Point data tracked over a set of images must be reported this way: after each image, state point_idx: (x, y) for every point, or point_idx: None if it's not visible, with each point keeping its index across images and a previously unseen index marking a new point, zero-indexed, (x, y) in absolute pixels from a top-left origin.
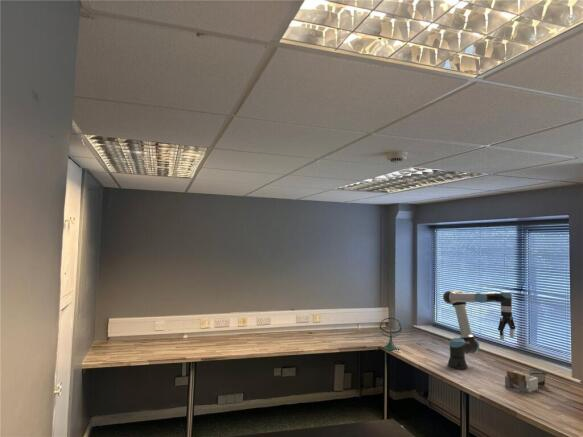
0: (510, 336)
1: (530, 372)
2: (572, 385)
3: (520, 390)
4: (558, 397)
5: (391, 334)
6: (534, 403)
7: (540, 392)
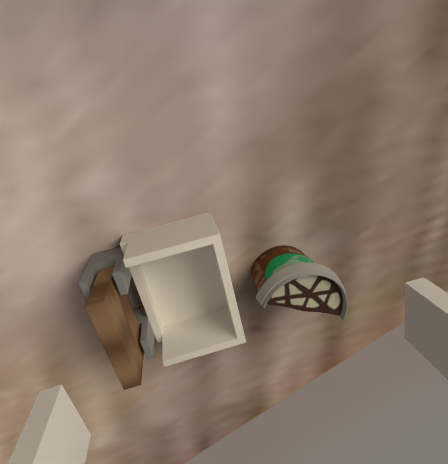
0: (418, 308)
1: (263, 301)
2: None
3: None
4: (233, 380)
5: None
6: None
7: None
